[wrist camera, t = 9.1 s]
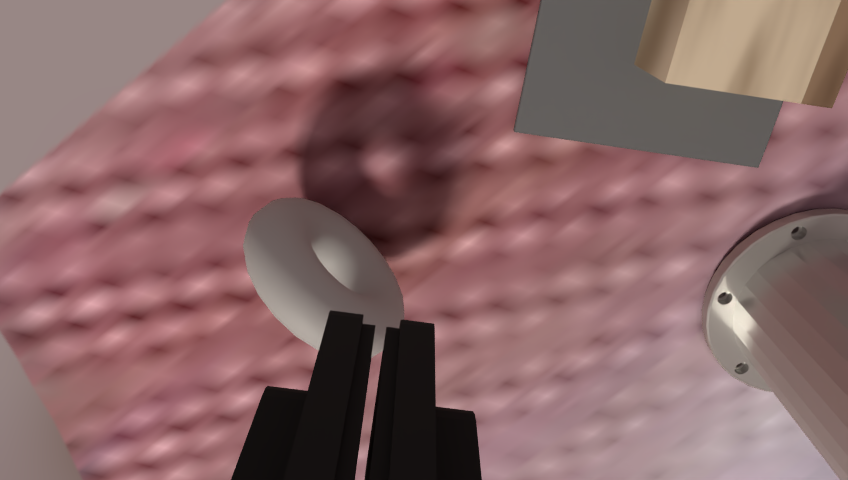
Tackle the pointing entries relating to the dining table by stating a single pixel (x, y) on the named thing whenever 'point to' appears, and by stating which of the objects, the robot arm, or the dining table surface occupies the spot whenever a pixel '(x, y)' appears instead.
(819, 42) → the tall block
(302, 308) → the donut
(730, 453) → the dining table surface
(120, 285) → the dining table surface
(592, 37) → the mat
